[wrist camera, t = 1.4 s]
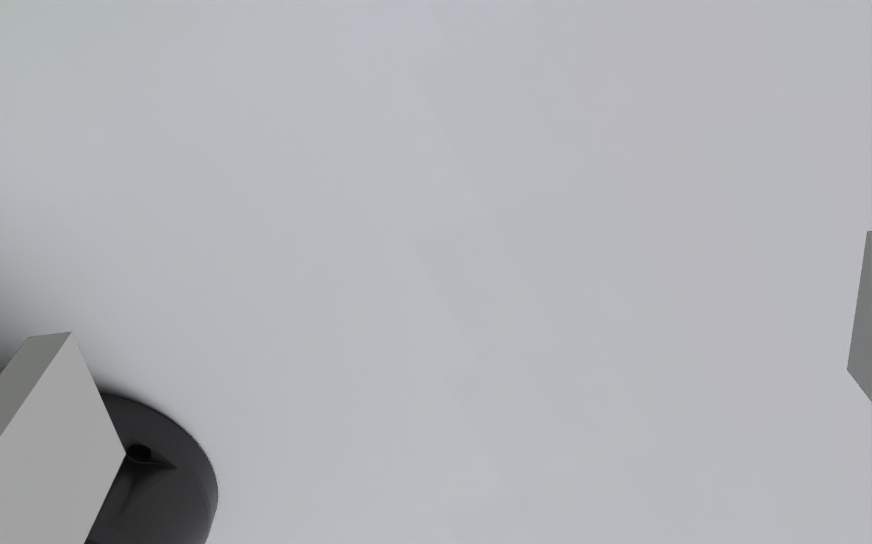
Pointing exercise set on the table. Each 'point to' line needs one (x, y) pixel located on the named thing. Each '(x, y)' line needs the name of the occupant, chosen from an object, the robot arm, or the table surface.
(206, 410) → the table surface
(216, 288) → the table surface
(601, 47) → the table surface
